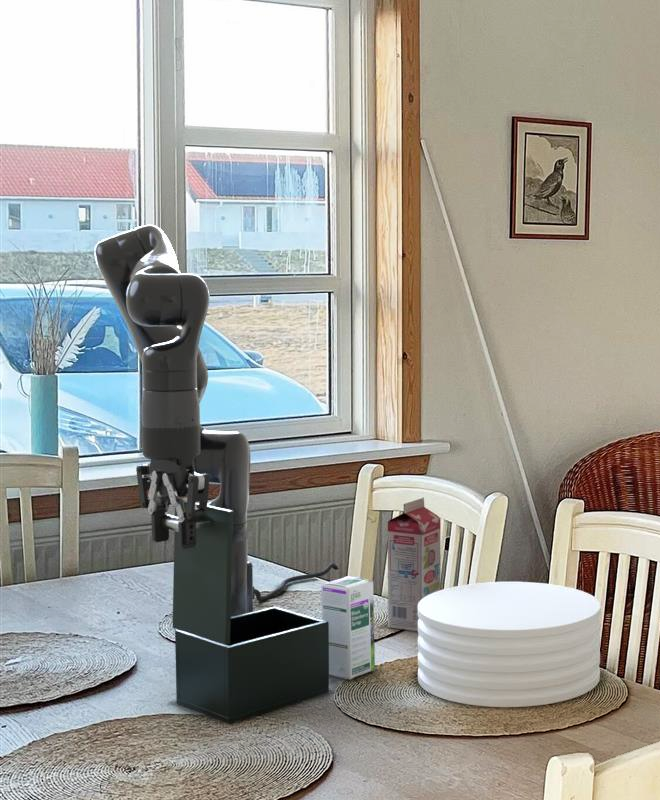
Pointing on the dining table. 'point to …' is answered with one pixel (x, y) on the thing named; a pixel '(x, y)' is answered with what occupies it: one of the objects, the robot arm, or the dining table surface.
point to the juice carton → (412, 562)
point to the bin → (253, 665)
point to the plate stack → (509, 643)
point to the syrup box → (349, 626)
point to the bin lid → (204, 576)
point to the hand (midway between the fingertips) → (173, 543)
